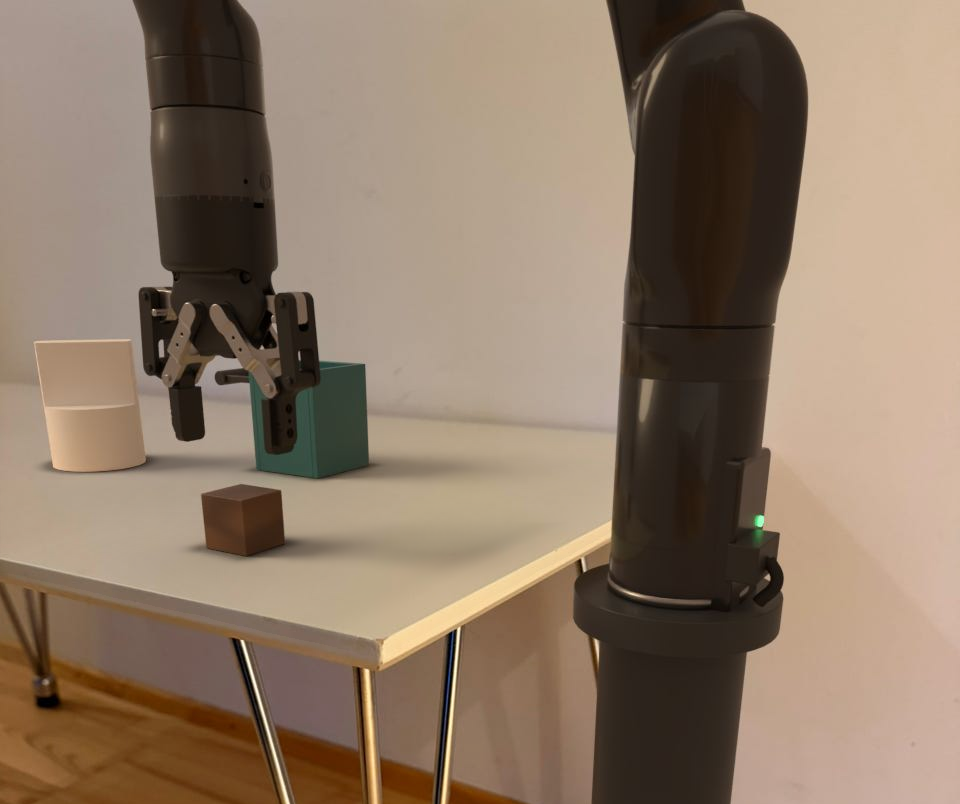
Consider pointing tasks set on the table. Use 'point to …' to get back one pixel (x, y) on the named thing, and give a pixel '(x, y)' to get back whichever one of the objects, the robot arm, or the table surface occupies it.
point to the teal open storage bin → (316, 422)
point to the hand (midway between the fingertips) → (234, 446)
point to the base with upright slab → (91, 404)
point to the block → (243, 519)
